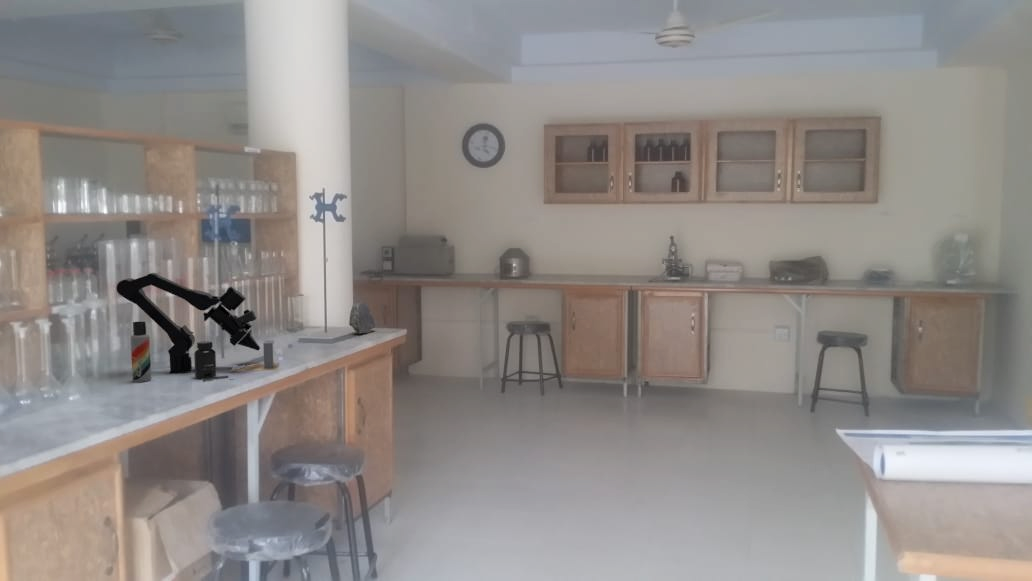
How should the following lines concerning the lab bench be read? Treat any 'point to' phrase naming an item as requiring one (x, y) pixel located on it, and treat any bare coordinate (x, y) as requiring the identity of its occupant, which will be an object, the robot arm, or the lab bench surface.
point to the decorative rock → (361, 318)
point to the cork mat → (256, 367)
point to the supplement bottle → (205, 360)
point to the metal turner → (214, 378)
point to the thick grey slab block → (269, 354)
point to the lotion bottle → (140, 353)
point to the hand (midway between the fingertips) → (259, 349)
